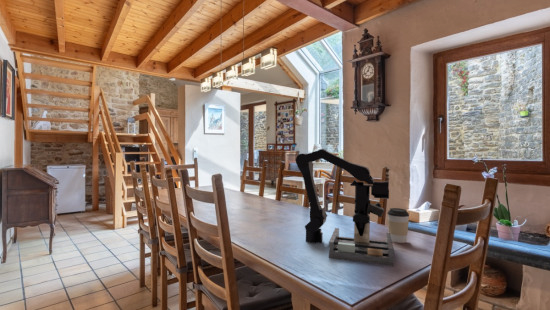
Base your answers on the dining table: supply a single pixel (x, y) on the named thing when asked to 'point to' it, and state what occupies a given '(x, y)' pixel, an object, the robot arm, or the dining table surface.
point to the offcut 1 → (346, 247)
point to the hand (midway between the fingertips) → (361, 235)
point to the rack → (362, 250)
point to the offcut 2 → (375, 251)
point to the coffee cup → (398, 224)
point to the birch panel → (365, 235)
